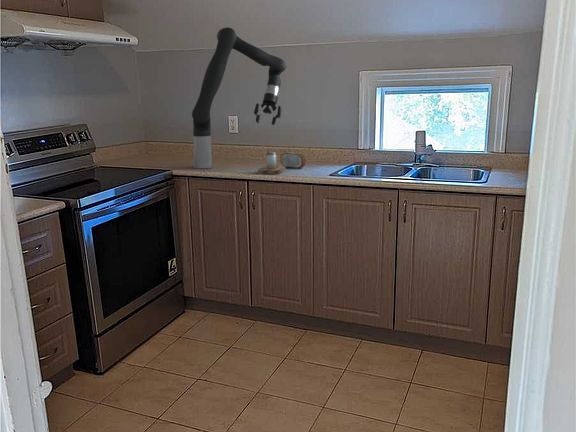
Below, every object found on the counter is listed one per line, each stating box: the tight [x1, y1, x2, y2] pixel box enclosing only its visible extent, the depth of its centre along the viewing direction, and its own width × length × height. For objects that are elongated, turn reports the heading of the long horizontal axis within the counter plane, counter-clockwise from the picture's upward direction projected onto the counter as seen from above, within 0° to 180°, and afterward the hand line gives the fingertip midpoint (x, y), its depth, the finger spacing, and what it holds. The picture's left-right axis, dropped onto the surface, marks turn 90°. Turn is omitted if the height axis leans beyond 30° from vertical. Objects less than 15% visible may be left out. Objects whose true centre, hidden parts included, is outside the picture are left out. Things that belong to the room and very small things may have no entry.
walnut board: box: [257, 165, 286, 175], centre depth 277 cm, size 11×14×2 cm
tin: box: [280, 151, 306, 169], centre depth 291 cm, size 15×3×8 cm, turn 56°
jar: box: [266, 151, 277, 169], centre depth 276 cm, size 5×5×8 cm
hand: (265, 123), depth 286 cm, fingers open, 8 cm apart
